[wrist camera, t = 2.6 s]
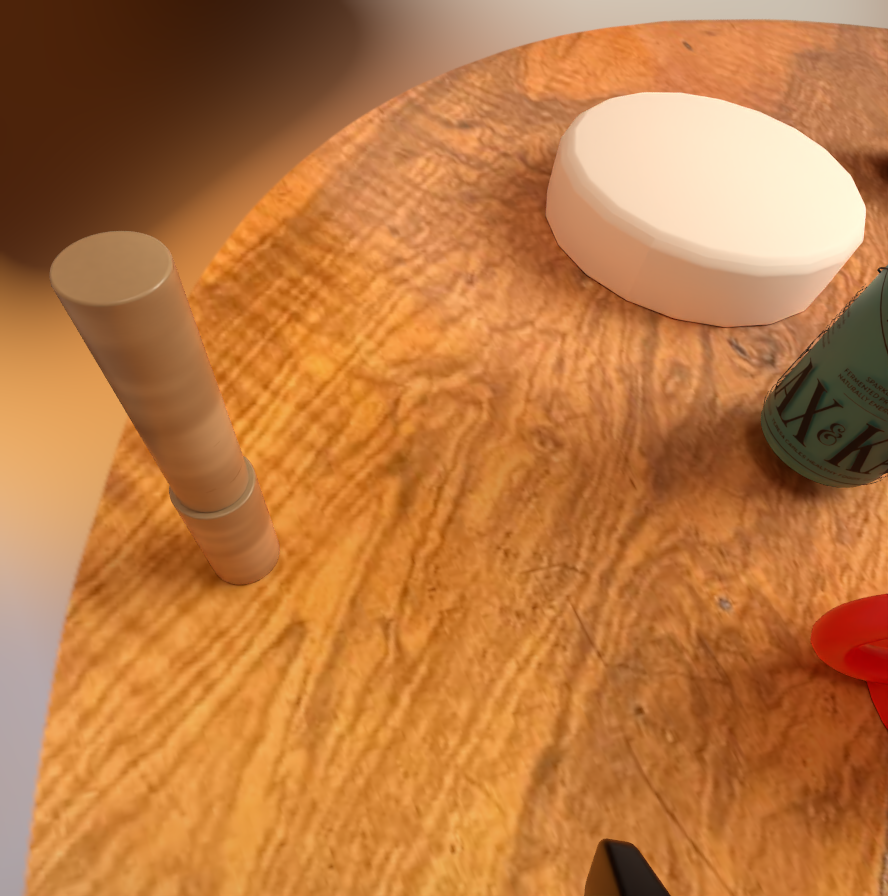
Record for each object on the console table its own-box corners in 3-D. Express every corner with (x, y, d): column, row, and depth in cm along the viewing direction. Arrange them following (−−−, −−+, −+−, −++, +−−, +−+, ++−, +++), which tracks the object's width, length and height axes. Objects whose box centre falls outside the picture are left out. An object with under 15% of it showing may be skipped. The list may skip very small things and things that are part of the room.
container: (668, 125, 49) (692, 64, 45) (881, 259, 41) (933, 199, 37) (486, 193, 41) (497, 126, 37) (708, 375, 33) (751, 314, 29)
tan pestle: (226, 597, 23) (57, 329, 11) (200, 543, 25) (22, 245, 12) (290, 563, 25) (201, 284, 12) (263, 513, 26) (156, 211, 13)
